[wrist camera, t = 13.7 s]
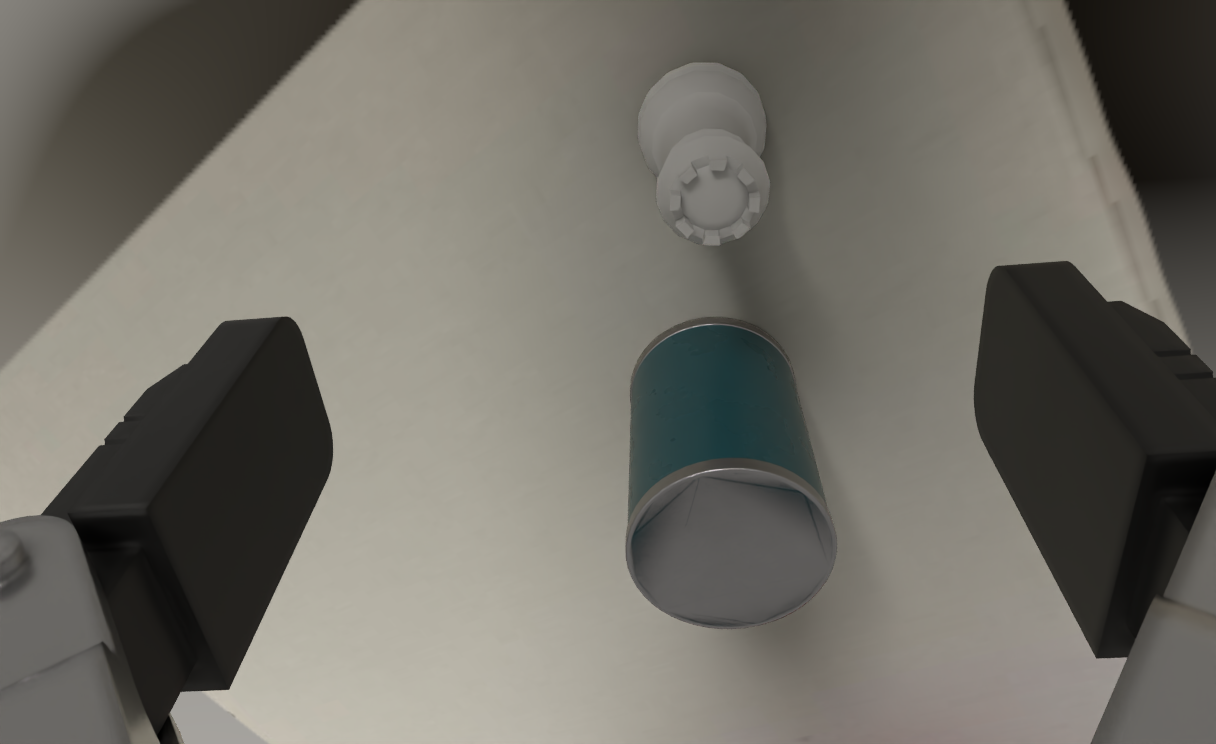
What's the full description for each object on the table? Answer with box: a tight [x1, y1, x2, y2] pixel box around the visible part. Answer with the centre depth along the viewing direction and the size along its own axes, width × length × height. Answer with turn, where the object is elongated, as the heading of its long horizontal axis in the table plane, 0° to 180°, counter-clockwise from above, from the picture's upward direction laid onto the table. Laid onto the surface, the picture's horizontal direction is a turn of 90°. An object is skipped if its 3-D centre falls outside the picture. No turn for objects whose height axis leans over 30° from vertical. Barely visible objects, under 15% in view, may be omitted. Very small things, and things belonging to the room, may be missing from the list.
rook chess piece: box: [638, 62, 770, 246], centre depth 29 cm, size 4×4×8 cm
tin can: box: [626, 317, 837, 629], centre depth 34 cm, size 7×7×10 cm
